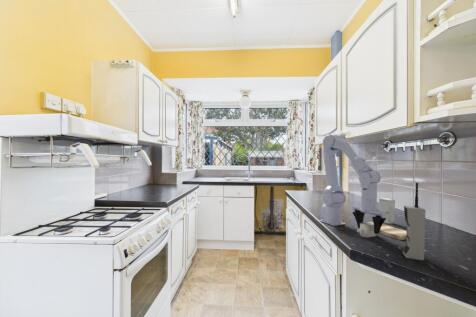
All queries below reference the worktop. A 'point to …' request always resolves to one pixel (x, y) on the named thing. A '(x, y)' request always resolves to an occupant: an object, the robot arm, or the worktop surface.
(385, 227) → the birch board
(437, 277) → the worktop surface
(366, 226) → the capped bottle
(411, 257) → the vintage mobile phone
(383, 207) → the skincare box
